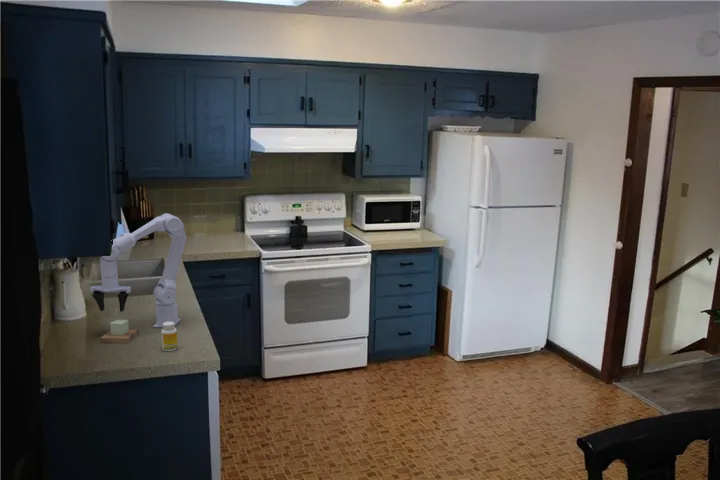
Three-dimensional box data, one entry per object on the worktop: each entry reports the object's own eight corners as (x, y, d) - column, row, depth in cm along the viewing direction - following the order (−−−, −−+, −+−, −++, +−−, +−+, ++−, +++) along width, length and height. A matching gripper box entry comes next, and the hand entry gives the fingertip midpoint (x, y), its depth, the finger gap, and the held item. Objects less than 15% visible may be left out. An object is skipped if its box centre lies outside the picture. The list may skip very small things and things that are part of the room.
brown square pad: (112, 334, 238) (112, 328, 238) (138, 335, 238) (137, 328, 237) (101, 344, 228) (100, 338, 228) (128, 345, 228) (127, 338, 227)
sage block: (117, 330, 235) (116, 319, 234) (128, 331, 235) (127, 320, 234) (111, 334, 231) (110, 323, 230) (122, 335, 230) (121, 324, 229)
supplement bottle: (159, 348, 223) (157, 323, 221) (172, 344, 227) (171, 319, 225) (167, 352, 219) (165, 326, 218) (180, 348, 223) (179, 323, 221)
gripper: (85, 278, 229) (88, 313, 231) (124, 278, 228) (126, 314, 231) (94, 273, 235) (97, 307, 238) (132, 273, 235) (134, 308, 238)
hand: (112, 310), depth 235 cm, fingers open, 7 cm apart
